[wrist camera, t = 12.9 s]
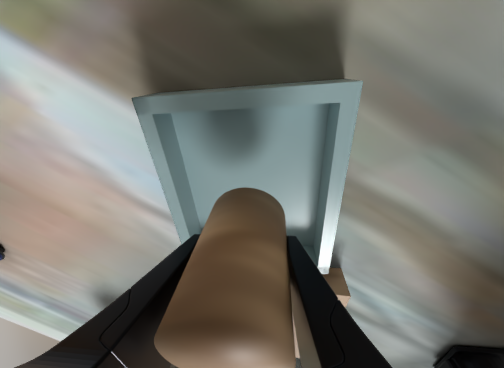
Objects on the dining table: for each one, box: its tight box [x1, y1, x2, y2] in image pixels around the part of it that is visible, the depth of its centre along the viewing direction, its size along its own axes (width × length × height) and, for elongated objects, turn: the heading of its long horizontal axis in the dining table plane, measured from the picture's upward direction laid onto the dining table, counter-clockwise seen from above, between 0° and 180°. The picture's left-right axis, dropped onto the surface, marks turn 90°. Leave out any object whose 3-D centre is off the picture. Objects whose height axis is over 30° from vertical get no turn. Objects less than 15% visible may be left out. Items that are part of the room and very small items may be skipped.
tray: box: [132, 79, 363, 274], centre depth 13 cm, size 11×13×2 cm
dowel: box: [154, 187, 296, 368], centre depth 8 cm, size 4×4×6 cm
